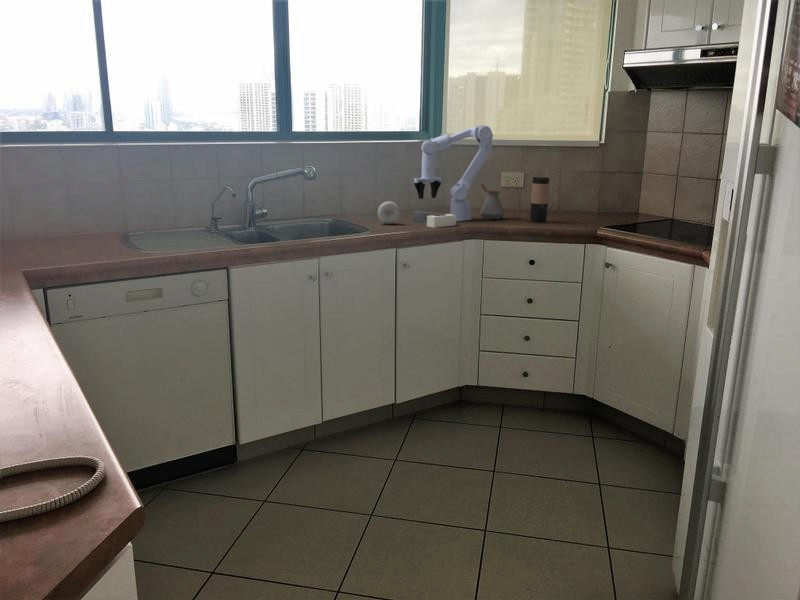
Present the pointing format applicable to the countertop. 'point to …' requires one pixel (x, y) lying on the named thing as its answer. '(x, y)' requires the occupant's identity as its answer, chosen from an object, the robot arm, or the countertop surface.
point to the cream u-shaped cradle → (441, 220)
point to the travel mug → (539, 199)
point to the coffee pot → (492, 205)
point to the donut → (395, 212)
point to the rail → (423, 216)
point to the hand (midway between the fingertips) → (427, 198)
